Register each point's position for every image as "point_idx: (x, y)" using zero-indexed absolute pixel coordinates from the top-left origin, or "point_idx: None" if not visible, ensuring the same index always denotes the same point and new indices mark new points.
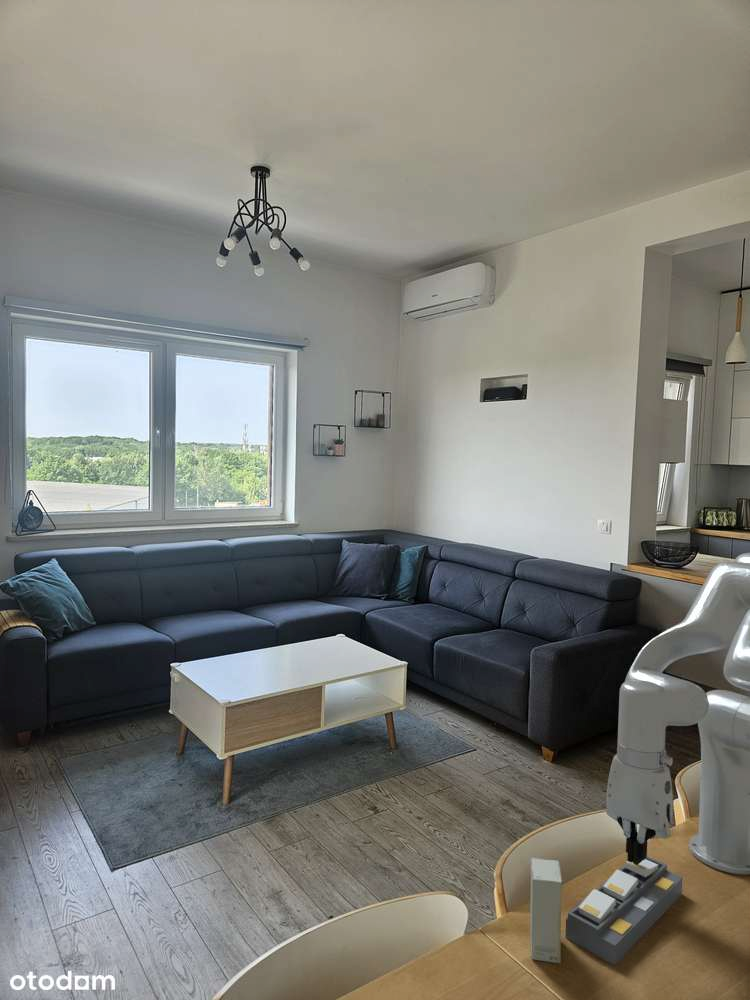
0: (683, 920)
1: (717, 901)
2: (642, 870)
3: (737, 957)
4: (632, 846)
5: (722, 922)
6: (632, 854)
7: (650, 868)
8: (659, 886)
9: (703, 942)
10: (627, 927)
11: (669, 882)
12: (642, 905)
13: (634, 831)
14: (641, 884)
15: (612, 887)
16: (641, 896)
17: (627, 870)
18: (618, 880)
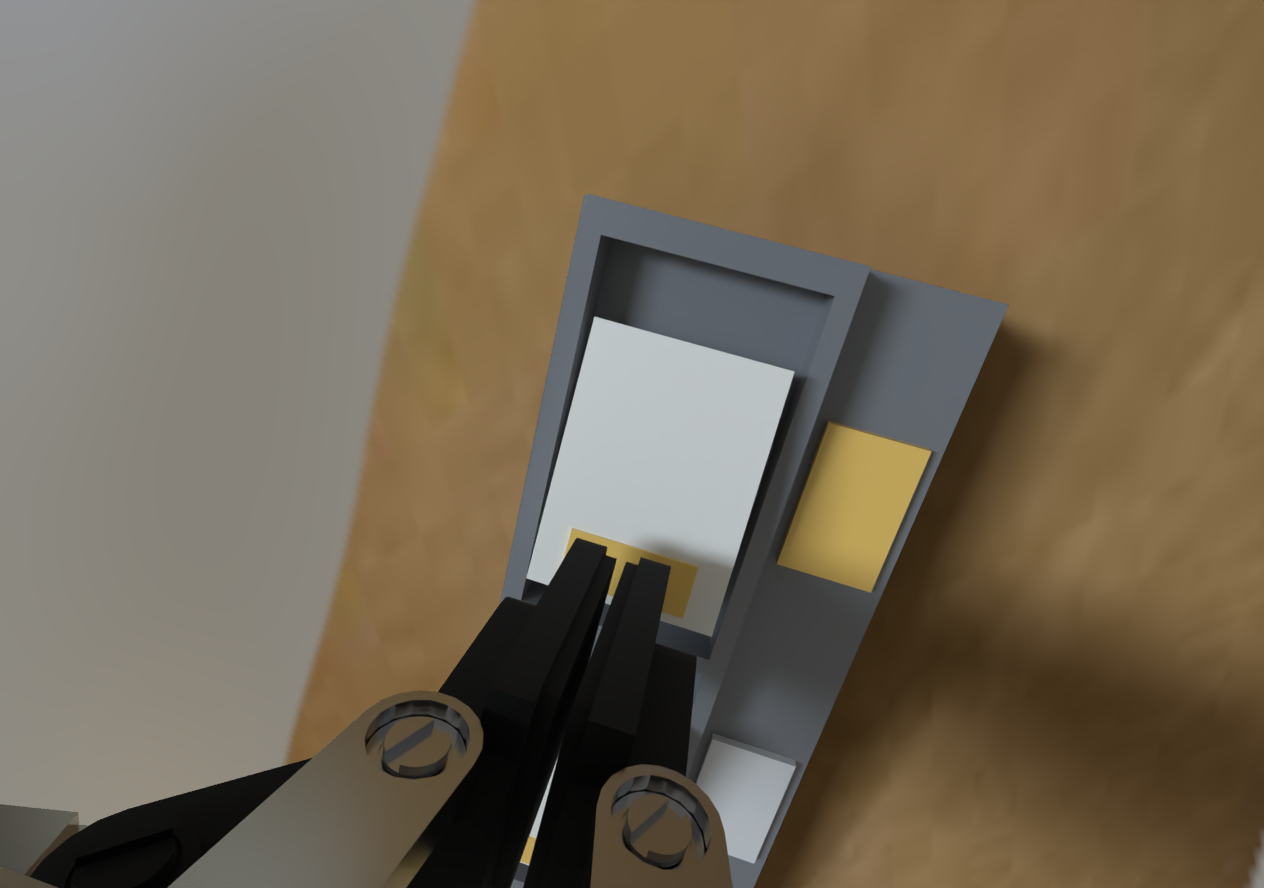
0: (957, 589)
1: (1241, 230)
2: (678, 624)
3: (1261, 775)
4: (529, 834)
5: (1230, 489)
6: (560, 747)
7: (737, 542)
8: (817, 575)
9: (1067, 730)
10: None
11: (893, 478)
12: (730, 826)
13: (455, 865)
14: None
15: (530, 854)
16: (708, 721)
17: None
18: (543, 802)
